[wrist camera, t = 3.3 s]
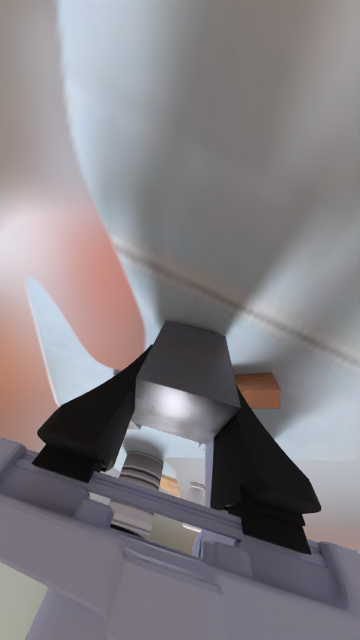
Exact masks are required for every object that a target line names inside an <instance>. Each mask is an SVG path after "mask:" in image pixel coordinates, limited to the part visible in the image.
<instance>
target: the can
mask: <svg viewBox="0 0 360 640" xmlns="http://www.w3.org/2000/svg"><path fill="white" fill-rule="evenodd" d="M162 469H163V463H162V462H161V461H160V460H159V459H157V458H155V457H153V456H151V455H149V454H145V453H141V452H137V451H135V452H128V454H127V457H126V460H125V462H124V465H123V468H122V470H121V473H120V476H119V479H122V480H125V481H128V482H131V483H134V484H137V485H141V486H144V487H147V488H150V489H153V490H156V491H158V490H159V485H160V480H161V474H162ZM109 506H111V509H113V510H114V512H115V513H114V516H113V519H112V522H111V525H110V528H113V529H116V530H119V531H122V532H125V533H129V534H132V535H135V536H138V537H141V538H144V537H142V536H140V535H139V534H137V533H135V532H139V533H142V534H144V535H148V536H150V532H151V527H152V522H153V516H154V513H152V512H149V511H146V510H143V509H140V508H137V507H134V506H131V505H128V504H125V503H122V502H119V501H116V500H113V499H111V500H110V503H109ZM131 530H132V531H131ZM134 531H135V532H134ZM144 539H145V538H144Z"/></svg>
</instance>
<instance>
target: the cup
mask: <svg viewBox="0 0 360 640" xmlns="http://www.w3.org/2000/svg"><path fill="white" fill-rule="evenodd" d="M190 485H191V486H193V487H190V488H189V491H188V495H187V501H190V502H193V503H197V504H200V505H203V506H205V500H204V494H203V491H202V490H201V489H198V488H204V490H205V487H204V485H202V484H199V483H196V482H190ZM195 487H196V488H195ZM182 526H183V527H185V528H188V529H191V530H194V531H197V532H202V529H201V528H198V527H195V526H192V525H189V524H186V523H183V524H182Z"/></svg>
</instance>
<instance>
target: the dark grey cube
mask: <svg viewBox="0 0 360 640" xmlns="http://www.w3.org/2000/svg"><path fill="white" fill-rule="evenodd" d="M240 408H241V406H240V401H239V397H238V392H237V387H236V383H235V378H234V374H233V369H232V364H231V360H230V355H229V351H228V346H227V341H226V337H225V336H223V335H220V334H216V333H212V332H208V331H205V330H201V329H197V328H193V327H190V326H186V325H182V324H178V323H175V322H171V321H167V320H166V321H165V323H164V325H163V327H162V329H161V331H160V333H159V335H158V336H157V338H156V340H155V342H154V344H153V346H152V348H151V350H150V352H149V354H148V356H147V358H146V359H145V361H144V363H143V365H142V367H141V369H140V371H139V373H138V375H137V377H136V390H135V415H134V423H137V424H140V425H143V426H146V427H150V428H153V429H156V430H160V431H163V432H166V433H170V434H173V435H176V436H180V437H183V438H186V439H190V440H193V441H196V442H199V443H203V444H206V445H207V444H208V443H209V442H210V441H211V440H212V439H213V438H214V437H215V436H216V435H217V433H218V432H219V431H220V430H221V429H222V428H223V427H224V426H225V425H226V424H227V423H228V422H229V420H230V419H231V418H232V417H233V416H234V415H235V414H236V413H237V412H238V411H239V410H240Z"/></svg>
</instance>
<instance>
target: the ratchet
mask: <svg viewBox="0 0 360 640" xmlns="http://www.w3.org/2000/svg"><path fill="white" fill-rule="evenodd" d="M234 378H235V382H236V384H237V386H238V388H239V390H240V392H241V393H242V395H243V397H244V398H245V400H246V402H247V403H248V405H249V407H250V408H280V388H279V386H278V384H277V382H276V380H275V378H274V376H273V374H272V373H263V374H248V375H234ZM134 415H135V411H134V413H133V416H132V418H131V421H130V423H129V426H128V429H137V430H140V428H141V426H142V425H140V424H137V423H134Z"/></svg>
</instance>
